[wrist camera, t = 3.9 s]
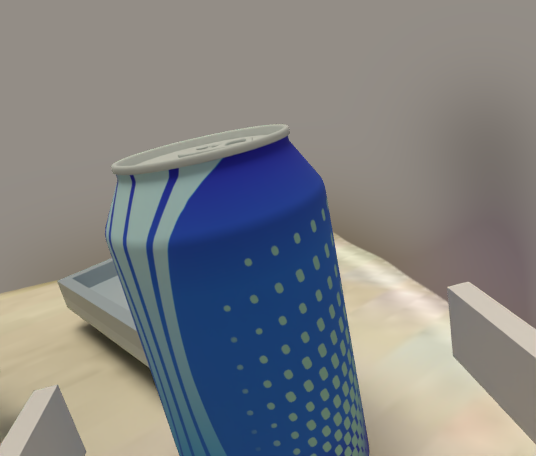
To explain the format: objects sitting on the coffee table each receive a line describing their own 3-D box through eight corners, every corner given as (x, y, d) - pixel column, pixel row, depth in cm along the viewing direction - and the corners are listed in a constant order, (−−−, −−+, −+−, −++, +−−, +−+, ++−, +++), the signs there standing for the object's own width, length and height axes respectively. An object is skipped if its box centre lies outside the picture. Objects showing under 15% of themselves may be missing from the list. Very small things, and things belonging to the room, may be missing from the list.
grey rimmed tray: (76, 330, 40) (57, 281, 39) (213, 261, 50) (202, 220, 48) (172, 409, 27) (149, 338, 25) (335, 294, 36) (325, 238, 35)
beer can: (307, 613, 15) (189, 168, 10) (162, 504, 21) (41, 178, 16) (402, 443, 21) (356, 109, 16) (270, 393, 27) (206, 131, 22)
